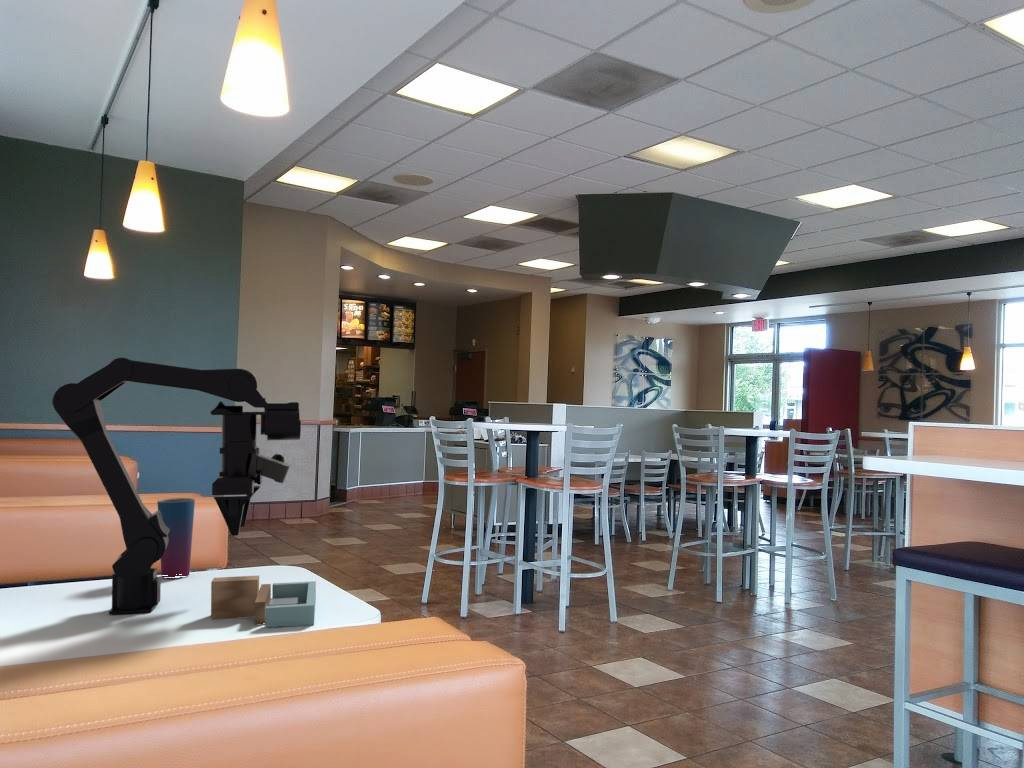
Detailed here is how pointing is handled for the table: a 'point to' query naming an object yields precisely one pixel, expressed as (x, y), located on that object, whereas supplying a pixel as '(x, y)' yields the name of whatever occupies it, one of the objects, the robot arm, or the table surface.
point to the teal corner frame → (292, 613)
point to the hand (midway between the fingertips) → (238, 530)
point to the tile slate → (283, 601)
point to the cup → (177, 535)
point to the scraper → (239, 598)
